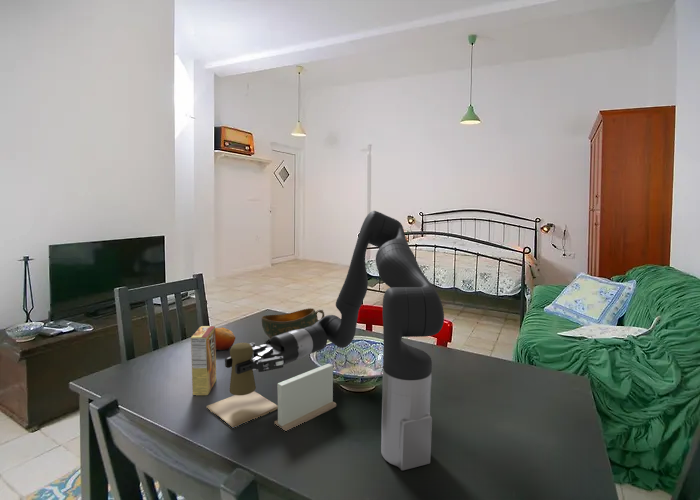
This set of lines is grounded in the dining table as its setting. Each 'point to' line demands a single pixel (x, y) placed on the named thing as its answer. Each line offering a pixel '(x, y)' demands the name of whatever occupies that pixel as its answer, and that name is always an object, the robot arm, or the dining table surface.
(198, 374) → the candy box
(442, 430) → the dining table surface
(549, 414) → the dining table surface
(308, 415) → the screen
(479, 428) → the dining table surface
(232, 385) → the pepper mill
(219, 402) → the board
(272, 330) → the green gravy boat
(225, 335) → the fruit
